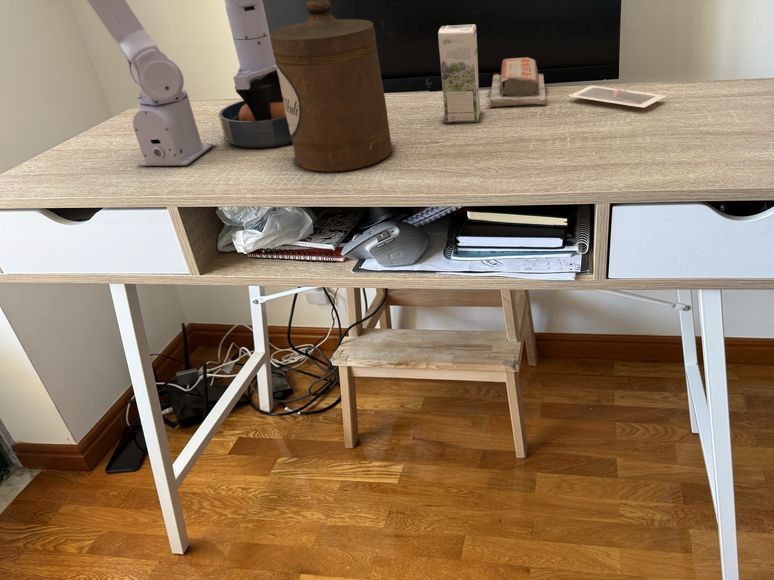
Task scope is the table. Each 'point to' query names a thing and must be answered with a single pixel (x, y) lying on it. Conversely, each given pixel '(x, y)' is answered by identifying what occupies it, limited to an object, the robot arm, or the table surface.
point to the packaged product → (518, 84)
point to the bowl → (253, 129)
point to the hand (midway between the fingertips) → (271, 122)
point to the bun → (275, 107)
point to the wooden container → (332, 91)
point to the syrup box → (459, 73)
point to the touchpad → (618, 96)
